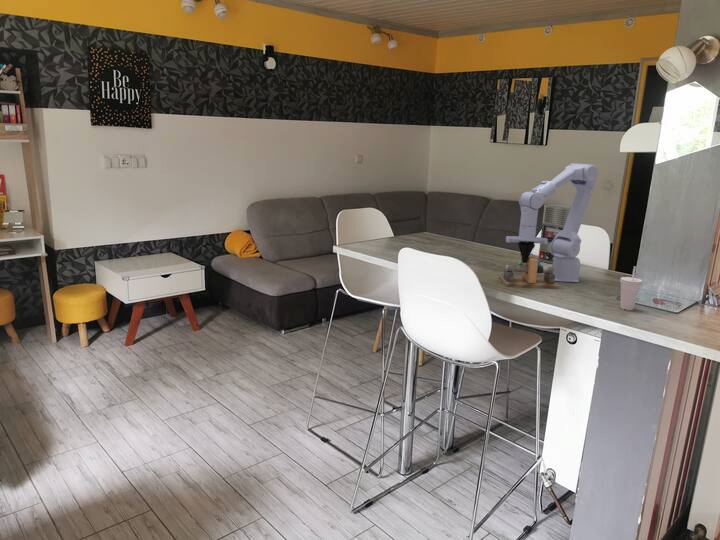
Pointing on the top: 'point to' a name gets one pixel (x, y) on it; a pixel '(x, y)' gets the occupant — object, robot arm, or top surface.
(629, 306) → the smoothie
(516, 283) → the pipe rig
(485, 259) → the top surface
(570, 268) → the robot arm
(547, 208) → the grey boxy piece
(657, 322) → the top surface
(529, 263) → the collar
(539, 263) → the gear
